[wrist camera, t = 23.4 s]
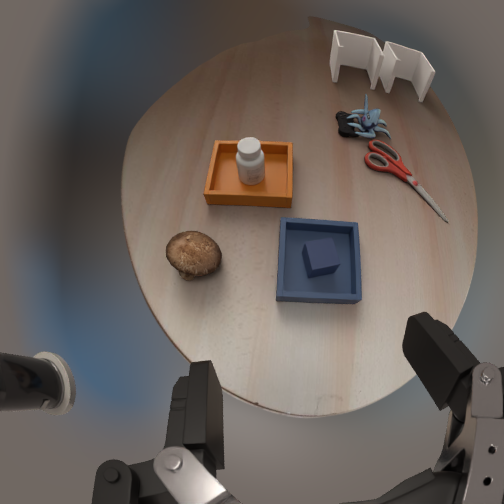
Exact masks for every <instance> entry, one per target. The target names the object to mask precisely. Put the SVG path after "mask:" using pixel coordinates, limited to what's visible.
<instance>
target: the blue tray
mask: <svg viewBox="0 0 504 504" xmlns="http://www.w3.org/2000/svg"><path fill="white" fill-rule="evenodd" d="M330 237H333V240H334V243H335V247H336V250H337V253H338V257H339V260H340V266H339V267H338V268H337V270H336V271H335V272H334V273H332V274H327V275H322V276H318V277H313V278H308V276H307V272H306V268H305V264H304V260H303V256H302V251H303V247H304V244H305V242H309V241H314V240H320V239H325V238H330ZM360 300H362V291H361V262H360V244H359V231H358V223H356V222H343V221H330V220H317V219H302V218H286V217H281V221H280V238H279V257H278V275H277V291H276V301H289V302H309V303H334V304H356V303H357V302H359V301H360Z"/></svg>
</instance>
